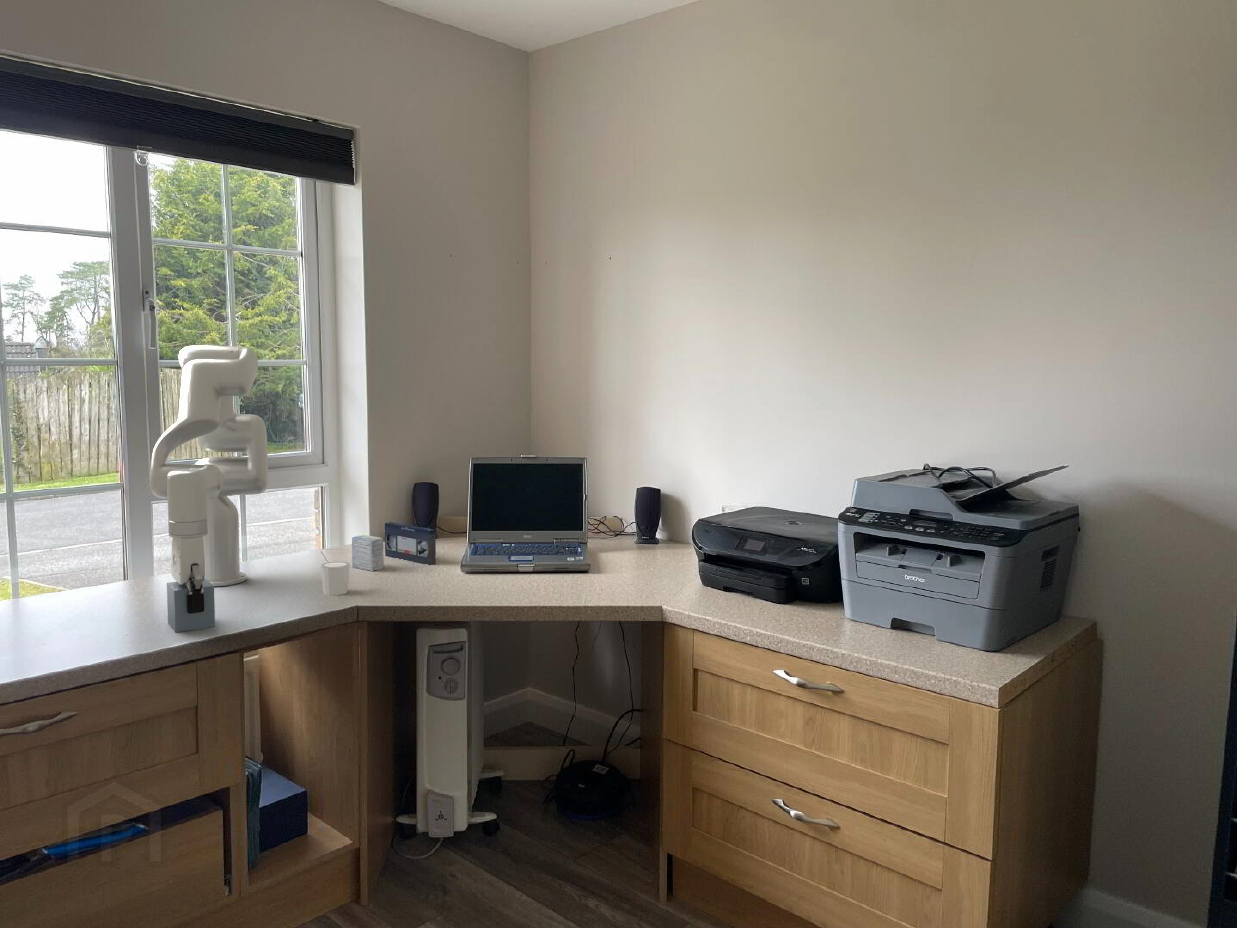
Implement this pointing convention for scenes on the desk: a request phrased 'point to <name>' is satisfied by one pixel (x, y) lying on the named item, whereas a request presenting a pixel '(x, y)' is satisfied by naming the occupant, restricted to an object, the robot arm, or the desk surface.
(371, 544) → the light grey block
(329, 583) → the white tapered cup
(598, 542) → the desk surface
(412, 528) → the vhs cassette tape
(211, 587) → the blue-grey block
